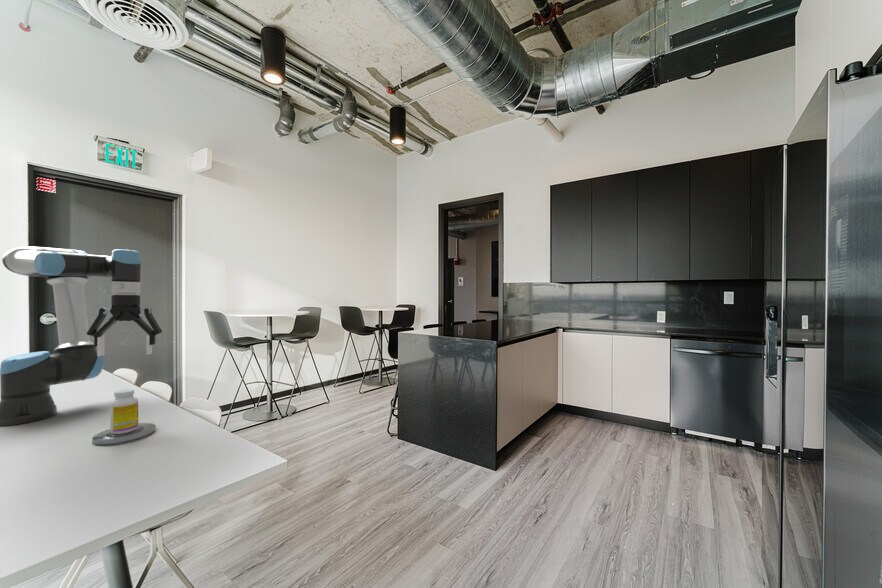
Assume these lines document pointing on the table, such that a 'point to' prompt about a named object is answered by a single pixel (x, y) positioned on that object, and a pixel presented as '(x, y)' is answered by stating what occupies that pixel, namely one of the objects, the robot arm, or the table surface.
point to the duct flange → (123, 435)
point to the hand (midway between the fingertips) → (125, 354)
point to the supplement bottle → (124, 412)
